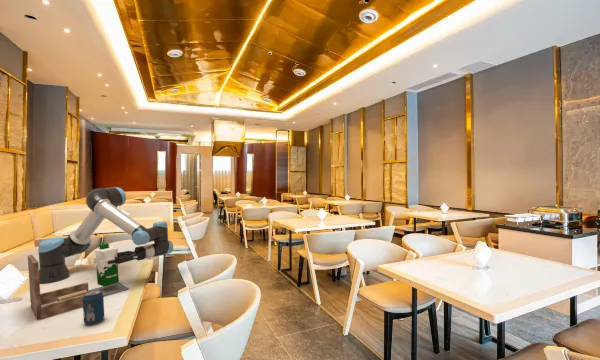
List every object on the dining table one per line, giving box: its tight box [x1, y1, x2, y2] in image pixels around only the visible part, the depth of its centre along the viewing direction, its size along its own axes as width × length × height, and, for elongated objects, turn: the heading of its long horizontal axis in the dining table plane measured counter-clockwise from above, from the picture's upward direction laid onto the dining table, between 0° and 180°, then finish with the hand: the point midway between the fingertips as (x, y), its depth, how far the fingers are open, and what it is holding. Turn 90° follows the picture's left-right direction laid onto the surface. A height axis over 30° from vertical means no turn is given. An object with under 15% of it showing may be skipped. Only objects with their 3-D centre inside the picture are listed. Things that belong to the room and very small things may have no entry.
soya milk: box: [94, 243, 120, 287], centre depth 155 cm, size 9×9×20 cm
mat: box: [88, 281, 129, 298], centre depth 156 cm, size 14×14×1 cm
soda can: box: [82, 290, 105, 326], centre depth 122 cm, size 7×7×12 cm
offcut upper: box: [56, 290, 88, 302], centre depth 141 cm, size 4×11×2 cm, turn 140°
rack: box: [27, 254, 90, 321], centre depth 140 cm, size 22×20×24 cm
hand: (96, 262), depth 152 cm, fingers closed on soya milk, 9 cm apart
